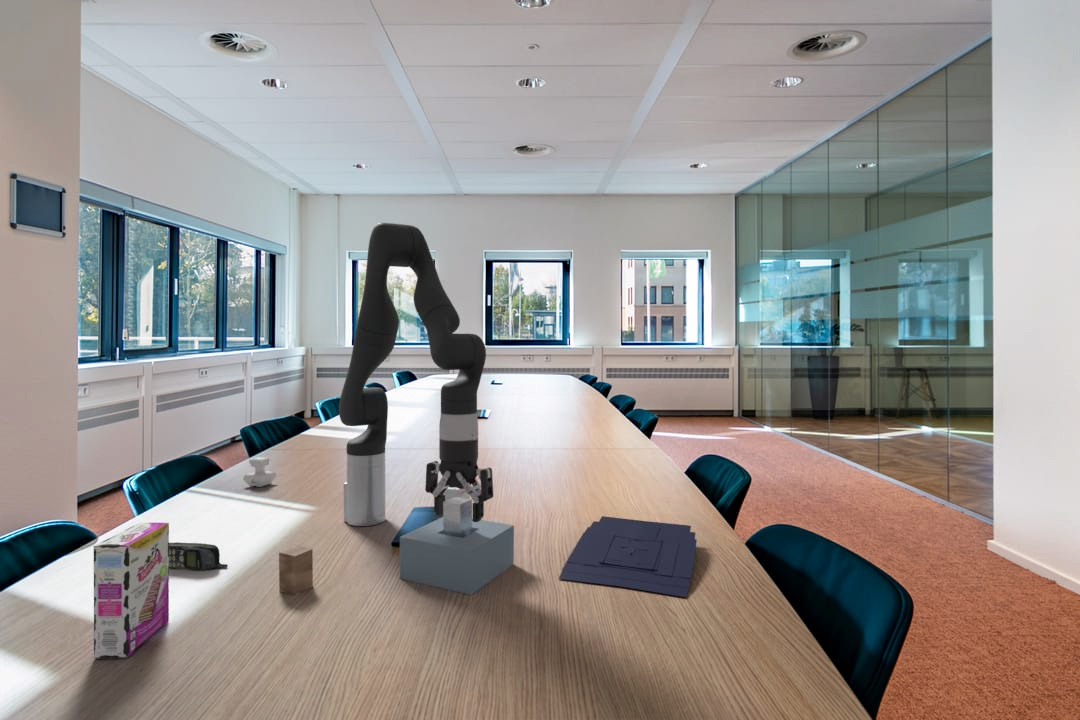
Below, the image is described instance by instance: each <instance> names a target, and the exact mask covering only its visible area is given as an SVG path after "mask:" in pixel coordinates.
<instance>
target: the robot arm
mask: <svg viewBox="0 0 1080 720" xmlns="http://www.w3.org/2000/svg"><path fill="white" fill-rule="evenodd" d="M390 267H397V268H399V267H400V268H410V269H411V270H412V271H413V272H414V274H415V275H416V278H417V279H416V285H415V288H414V292H413V304H414V308H415V310H416V311H415V312H417V314H418V317H419V318H420V321H421V322H422V325H423V326H424V328H425V329H426V334H427V338H428V343H429V351H430V355H431V356H430V357H431V359H432V361H433V363H434V364H435V365H436V366H437V367H438V368H440V369H442V370H444V371H455V370H457V371H458V374H457V376H456V378H455V379H454V380H451V381H449V382H446V383H444V384H443V385H442V386H441V389H440V417H439V424H438V425H439V428H438V429H439V431H438V433H439V443H438V445H439V446H438V447H439V449H438V450H439V451H438V452H439V454H438V455H439V457H438V458H439V460H440V462H439V461H437V460H434V461H431V462H428V463H427V464H426V467H425V468H426V472H425V488H424V490H425V492H426V493H427V494H428V493H429V494H432V497H434V498H433V507H434V508H433V511H434V513H435V515H436V516H438V517H439V516H441V515H443V502H444V501H445V495H443V494H444V493H445V492H446V490H447V489H448V487H451V488H454V487H457V488H459V489H465V490H466V492H467V493H468V494H470V497H471V498H470V499H472V518H473V522H478V521H480V520H482V519H483V518H484V515H485V514H484V512H485V509H484V508H485V507H484V506H485V505H484V504H485V503H484V502H487V501H488V500H491V499H492V498H494V483H493V480H494V479H493V469H492V468H491V467H486V468H479V466H478V459H479V420H478V390H479V387H480V382H481V378H482V375H483V371H484V367H485V364H486V358H487V350H486V346H485V345H486V344H485V342H484V341H483V339H482V338H481V337H480V336H479V335H478V334H476V333H455V332H456V331H457V330H458V328H459V327H460V323H461V321H460V316H459V314H458V311H457V310H456V308H455V307H454V305H453V303H452V301H451V299H450V298H449V296H448V294H447V292H446V291H445V289H444V287H443V284H442V282H441V280H440V277H439V274H438V272H437V269H436V265H435V262H434V259H433V257H432V254H431V251H430V249H429V245H428V243H427V241H426V238H425V236H424V234H423V232H422V231H421V230H420V229H419V228H418V227H416V226H414V225H412V224H411V225H409V224H403V223H401V224H400V223H394V222H392V223H391V222H378V223H376V224H375V225H374V226H373V229H372V231H371V234H370V236H369V242H368V249H367V258H366V270H365V278H364V279H365V280H364V288H363V293H362V300H361V303H360V310H359V314H358V316H357V322H356V327H355V333H354V339H353V346H352V352H351V356H350V357H351V358H350V362H349V366H348V370H347V373H346V376H345V380H344V384H343V388H342V390H341V394H340V398H339V406H338V414H339V419H340V421H341V423H342V424H343V425H345V426H346V427H347V426H348V427H358V426H359V427H360V426H367V428H366V429H364V431H363V432H362V433H361V434H360V435H357V436H356V437H354V438H351V439H349V440H348V441H347V443H346V482H344V483H343V522H346V523H347V524H348V525H350V526H354V527H368V526H375V525H379V524H381V523H383V522H385V521H386V443H387V436H388V433H387V432H388V415H389V414H388V412H389V404H388V402H389V401H388V396H387V394H386V391H385V390H384V389H383V388H382V387H373V386H372V387H366V383H367V382H368V379H369V378H370V377H371V375H372V374H373V373H374V372H375V371H376V369H377V368H378V367H379V366H381V365H382V363H383V362H384V361H385V360H386V359H387V358H388V357H389V355H390V354H392V351H393V350H394V348H395V344H396V342H397V341H396V340H397V335H398V332H399V327H400V317H399V315H398V312H397V310H396V309H397V308H396V307H395V305H394V303H393V300H392V297H391V295H390V292H389V290H388V283H387V282H388V273H389V269H390ZM439 473H440V474H441V476H442V477H441V478H440V479H439ZM477 476H478V479H477ZM478 480H480V482H479V481H478Z"/></svg>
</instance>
